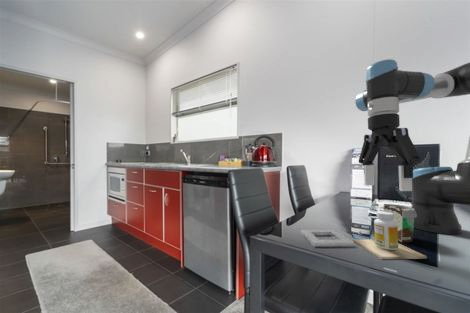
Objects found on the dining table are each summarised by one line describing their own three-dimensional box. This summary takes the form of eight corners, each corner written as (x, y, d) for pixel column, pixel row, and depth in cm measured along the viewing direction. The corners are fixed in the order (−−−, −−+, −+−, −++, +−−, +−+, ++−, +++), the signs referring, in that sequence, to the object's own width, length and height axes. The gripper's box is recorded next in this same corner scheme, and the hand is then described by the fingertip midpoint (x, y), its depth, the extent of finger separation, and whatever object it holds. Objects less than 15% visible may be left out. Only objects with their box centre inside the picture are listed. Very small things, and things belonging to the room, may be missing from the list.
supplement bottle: (397, 245, 59) (396, 212, 60) (399, 252, 55) (397, 215, 55) (375, 242, 62) (373, 209, 63) (375, 248, 58) (373, 213, 58)
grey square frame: (333, 232, 72) (333, 229, 72) (354, 246, 60) (354, 242, 60) (300, 233, 72) (300, 229, 72) (314, 246, 60) (314, 242, 60)
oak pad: (390, 241, 65) (390, 239, 65) (426, 258, 53) (426, 256, 53) (353, 241, 64) (353, 239, 64) (381, 259, 52) (381, 256, 52)
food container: (428, 245, 61) (427, 212, 62) (404, 244, 62) (403, 211, 63) (403, 232, 73) (402, 204, 74) (383, 231, 74) (383, 203, 75)
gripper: (346, 123, 72) (348, 183, 72) (407, 102, 47) (411, 194, 47) (366, 123, 73) (368, 183, 72) (438, 102, 48) (443, 193, 47)
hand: (385, 187), depth 59 cm, fingers open, 13 cm apart
